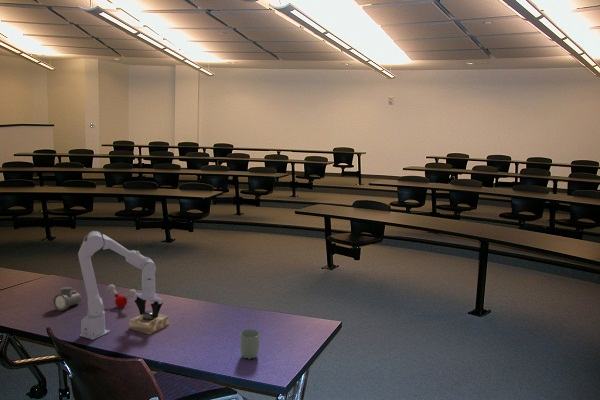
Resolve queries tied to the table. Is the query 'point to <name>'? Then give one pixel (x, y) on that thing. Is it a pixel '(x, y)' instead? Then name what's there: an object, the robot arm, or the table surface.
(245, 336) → the cup
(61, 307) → the pipe fitting
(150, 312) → the steel pin
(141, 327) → the wooden block
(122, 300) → the molecular model
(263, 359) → the table surface
